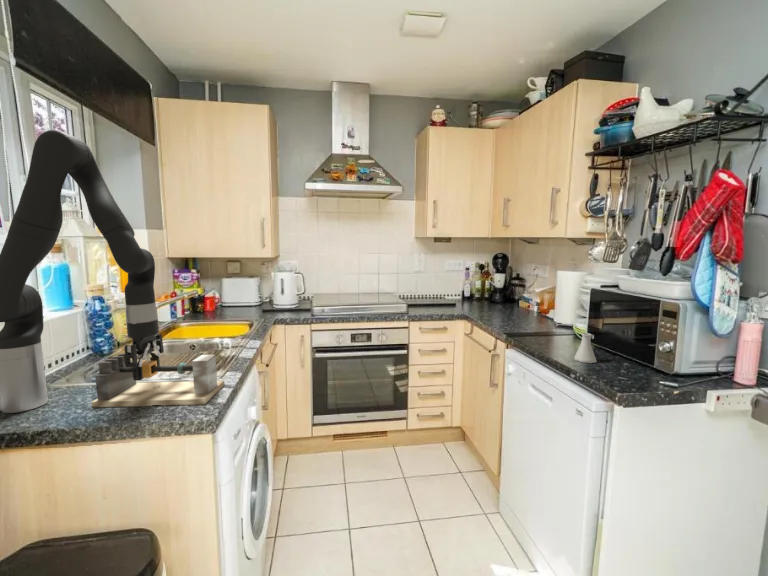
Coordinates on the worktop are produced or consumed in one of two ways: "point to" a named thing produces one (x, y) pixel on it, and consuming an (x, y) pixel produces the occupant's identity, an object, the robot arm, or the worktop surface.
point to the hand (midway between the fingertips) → (147, 374)
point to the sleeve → (148, 368)
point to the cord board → (155, 384)
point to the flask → (585, 350)
